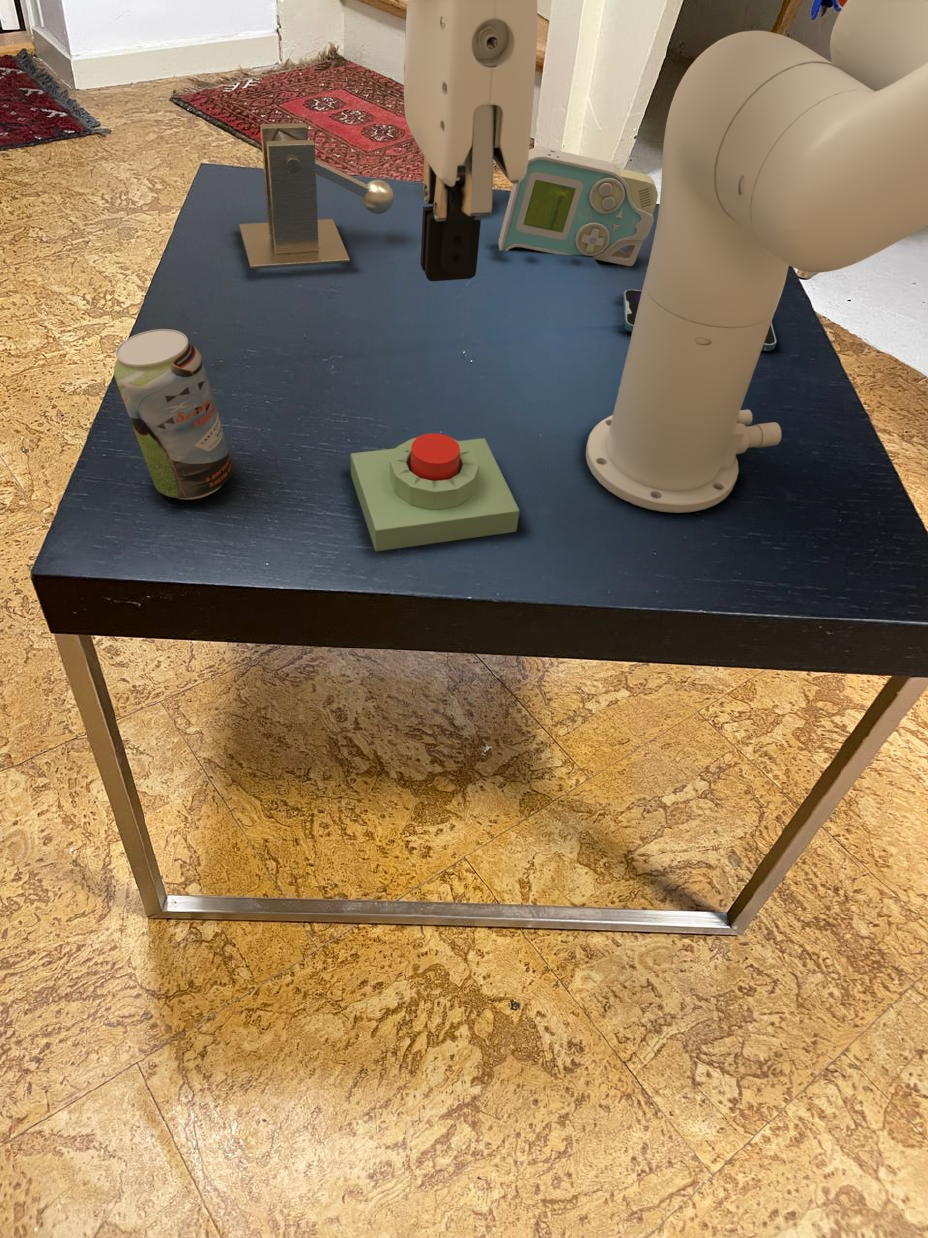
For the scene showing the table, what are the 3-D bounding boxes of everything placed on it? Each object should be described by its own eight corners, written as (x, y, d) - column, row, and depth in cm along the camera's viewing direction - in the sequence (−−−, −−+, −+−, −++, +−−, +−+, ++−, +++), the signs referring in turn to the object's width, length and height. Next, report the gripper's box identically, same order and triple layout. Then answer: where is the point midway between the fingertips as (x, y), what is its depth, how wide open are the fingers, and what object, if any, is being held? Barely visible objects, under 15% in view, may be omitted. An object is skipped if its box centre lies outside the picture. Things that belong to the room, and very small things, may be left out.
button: (451, 449, 73) (452, 430, 72) (464, 478, 71) (465, 460, 69) (405, 454, 72) (406, 435, 71) (417, 484, 70) (418, 465, 68)
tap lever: (380, 210, 100) (394, 182, 98) (387, 224, 98) (402, 196, 96) (265, 155, 93) (279, 123, 91) (270, 169, 90) (284, 137, 89)
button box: (482, 459, 78) (487, 418, 75) (516, 532, 72) (523, 491, 70) (350, 475, 75) (350, 434, 73) (375, 552, 70) (375, 511, 67)
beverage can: (217, 517, 71) (196, 379, 62) (124, 498, 72) (90, 359, 63) (247, 466, 75) (231, 330, 66) (158, 449, 76) (131, 312, 67)
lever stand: (333, 229, 103) (330, 113, 94) (350, 270, 97) (348, 151, 88) (239, 234, 100) (227, 116, 92) (251, 277, 95) (239, 155, 86)
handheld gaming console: (630, 285, 104) (497, 258, 101) (627, 272, 106) (496, 246, 103) (668, 184, 96) (524, 152, 93) (663, 172, 98) (523, 141, 95)
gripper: (599, -34, 43) (542, 332, 56) (499, -114, 52) (471, 216, 66) (437, -36, 41) (419, 343, 54) (364, -118, 50) (364, 222, 64)
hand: (447, 272), depth 60 cm, fingers closed
